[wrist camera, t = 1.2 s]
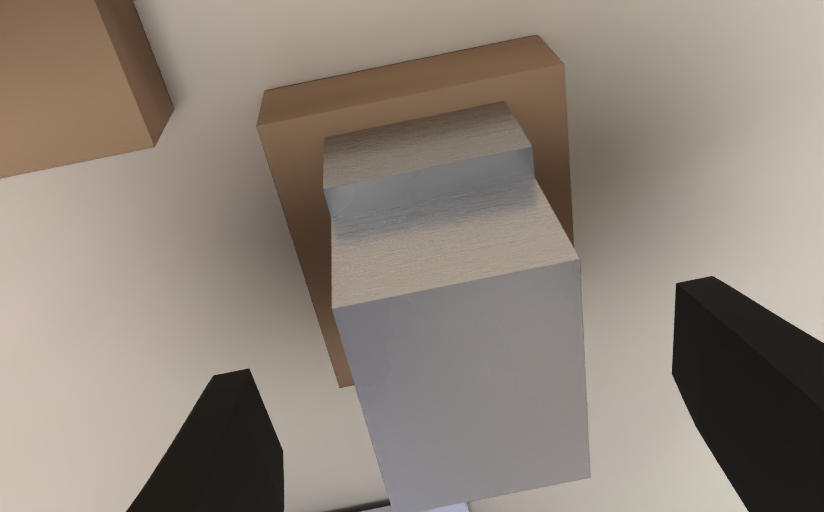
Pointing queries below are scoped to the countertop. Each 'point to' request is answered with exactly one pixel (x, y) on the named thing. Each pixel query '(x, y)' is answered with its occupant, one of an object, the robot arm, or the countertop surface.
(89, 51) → the stand
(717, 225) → the countertop surface
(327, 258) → the stand
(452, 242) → the block
